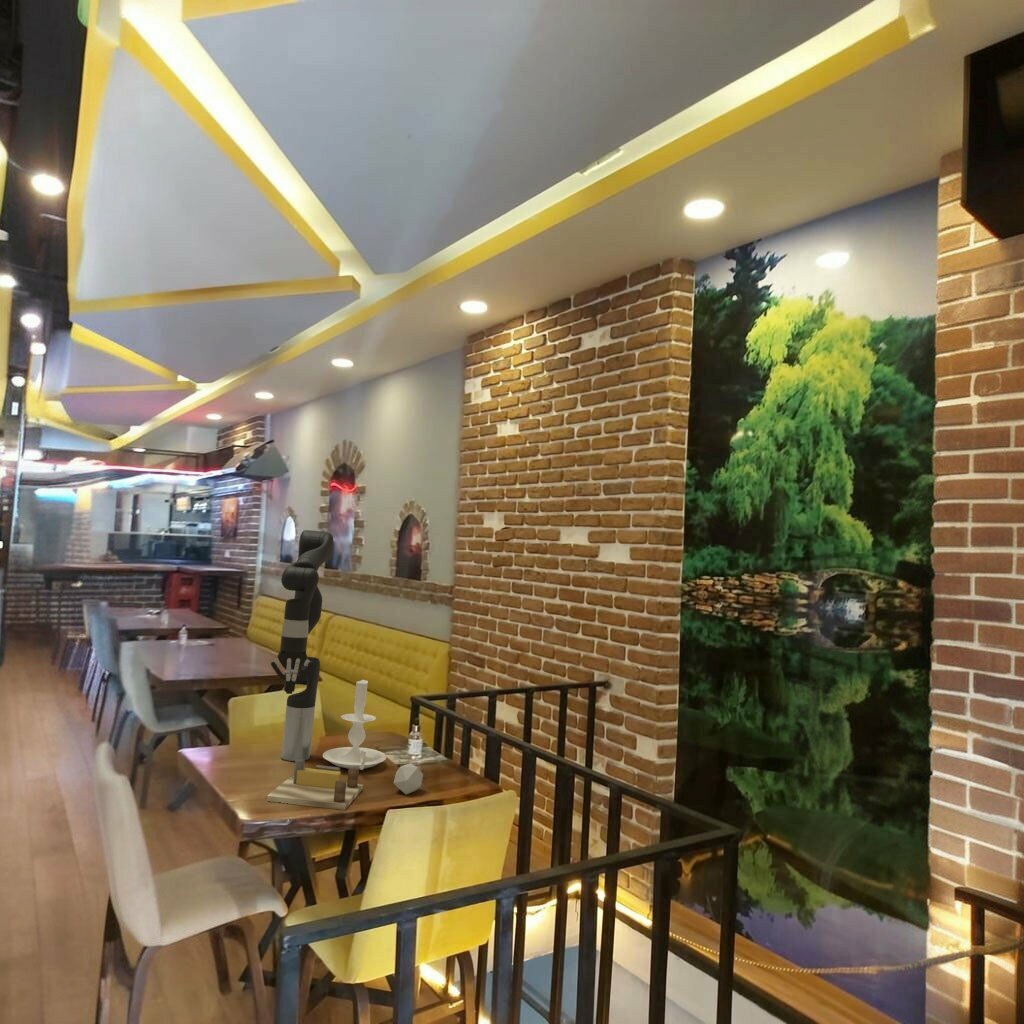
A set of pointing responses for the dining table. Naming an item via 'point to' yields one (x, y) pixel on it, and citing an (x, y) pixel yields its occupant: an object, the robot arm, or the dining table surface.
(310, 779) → the bar
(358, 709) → the candlestick
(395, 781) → the die
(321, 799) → the seat board
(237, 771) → the dining table surface
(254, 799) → the dining table surface
